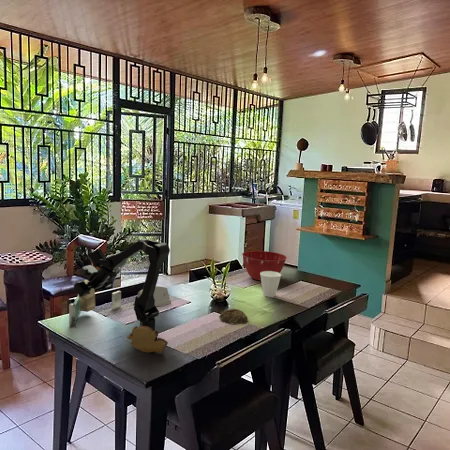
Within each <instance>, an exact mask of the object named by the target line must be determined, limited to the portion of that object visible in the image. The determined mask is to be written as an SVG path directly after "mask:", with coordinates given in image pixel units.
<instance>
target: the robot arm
mask: <svg viewBox="0 0 450 450" xmlns="http://www.w3.org/2000/svg"><path fill="white" fill-rule="evenodd" d="M170 250H171V248H170V246H169V245H168V244H167V243H166V242H159V241H154V240H152V239H148V238H142V239H138V240H137V241H135V242H134V243H133V244H131V245H130V246H129V247H128V246H127V247H126V248H125V249H124V250H122V251H120V252H119V253H117V254H112V255H111V256H108V257H106V256H105V254H104V252H103V250H102V249H101V248H100V247H99V248H96V249H95V250H93V251H92V252H90V253H88V255H87V258H88V259H89V260H90V262H91V264H92V265H91V264H88V265H85V266H82V268H80V274H81V275H82V276H83V277H86V280H88V281H89V282H87V283H88V284H87V285H86V283H85V282H84V281H85V280H80V281H76V282H75V283H74V284H73V287H74V289H75V291H76V292H77V295H78V294H79V296H80V297H82V296H85V295H88V294H90V292H89V291H90V290H91V289H93V288H94V289H95V293H97V292H98V291H101V290H102V291H103V289H107V288H109V287H111V285H113V281H112V280H111V279H113V278H116V277H118V273H117V270H116V269H119V268H122V267H123V266H124V265H125V264H126V263H127V261H128V260H129V259H131V258H132V257H134V256H136V255H137V254H138V253H140V252H143V253H144V254H146V255H147V256H148V257H147V258H148V261H149V265H148V270H147V273H146V277H145V281H144V284H143V288H142V290H143V291H142V294H141V295H138V294H137V295H136V296H135V297H134V298H135V299H134V302H133V305H132V306H133V310H134V313H135V316H136V317H135V318H136V320H137V321H139V326H147V327H150V328H152V329H153V330H157V332H158V333H159V330H158V329H156V317H158V316H159V315H160V311H159V309H158V308H157V306H155V305H154V304H155V299H154V296H153V295H154V291H155V287H156V286H157V285H158V280H159V276H160V272H161V268H162V266H163V264H164V263H165V262H166V261H167V259H168V257H169V255H170V252H171V251H170ZM97 268H99V269H97Z"/></svg>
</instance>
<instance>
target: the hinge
mask: <svg viewBox="0 0 450 450" xmlns="http://www.w3.org/2000/svg"><path fill="white" fill-rule="evenodd" d="M142 291H143V289H141V290H139V291H138V292H137V296H138V295H141V294H142ZM153 296H154V299H155V304H154V305H155V306H156V307H160V306H165V305H171V304H172V300H171V299H170V295H169V290H168V288H167V287H165V286H159V285H156V287H155V291H154V295H153Z"/></svg>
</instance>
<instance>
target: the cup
mask: <svg viewBox="0 0 450 450" xmlns="http://www.w3.org/2000/svg"><path fill="white" fill-rule="evenodd" d="M260 276H261V281H260V282H261V289H262V294H263V297H266V296H267V298H274V297H273V296H275V297H276V294H277V291H278V288H279V284H280V281H281V277H282V274H281V272H280V273H278V272H273V271H264V272H261V273H260Z"/></svg>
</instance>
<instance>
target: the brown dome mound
mask: <svg viewBox="0 0 450 450" xmlns="http://www.w3.org/2000/svg"><path fill="white" fill-rule="evenodd" d="M219 318H220V321H221V323H224V322H228V323H227V324H230V323H239V324H246V323H247V322H248V316H247V314H246V313H244V311H243V310H240V309H237V308H229V309H226V310H224V311H222V312H221V313H220V314H219ZM245 322H246V323H245Z"/></svg>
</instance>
